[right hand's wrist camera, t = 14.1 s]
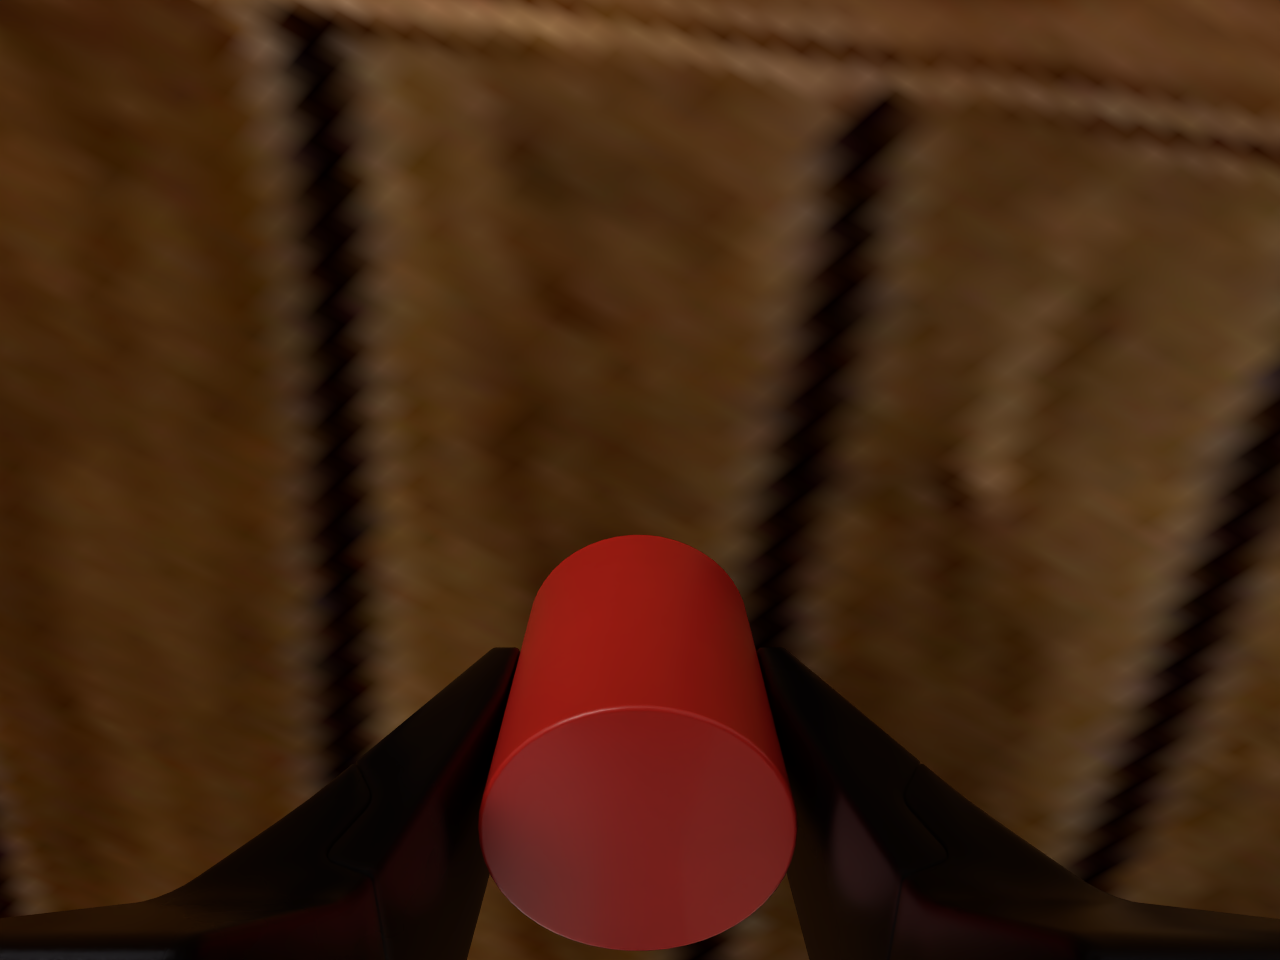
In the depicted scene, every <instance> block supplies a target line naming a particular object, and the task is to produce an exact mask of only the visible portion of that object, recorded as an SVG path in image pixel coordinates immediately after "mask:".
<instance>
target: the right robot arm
mask: <svg viewBox="0 0 1280 960" xmlns="http://www.w3.org/2000/svg"><path fill="white" fill-rule="evenodd" d="M519 656H520V651H519V649H518V648H493V649H491V650H490V651H489V652H488V653H486V654H485V655H484V656H483V657H482V658H480V659H479V660H478V661H477V662H476V663H474V664H473V665H472V666H471V667H470V668H468V669H467V670H466V671H465V672H463V673H462V674H461V675H460V676H459V677H457V678H456V679H455V680H454V681H453V682H451V683H450V684H449V685H448V686H447V687H445V688H444V689H443V690H442V691H441V692H439V693H438V694H437V695H436V696H434V697H433V698H432V699H431V700H430V701H428V702H427V703H426V704H425V705H424V706H422V707H421V708H420V709H419V710H418V711H416V712H415V713H414V714H413V715H412V716H410V717H409V718H408V719H407V720H406V721H404V722H403V723H402V724H401V725H399V726H398V727H397V728H396V729H395V730H393V731H392V732H391V733H390V734H389V735H387V736H386V737H385V738H384V739H383V740H381V741H380V742H379V743H378V744H377V745H375V746H374V747H373V748H372V749H371V750H369V751H368V752H367V753H366V754H364V755H363V756H362V757H361V758H360V759H358V760H357V762H356V764H352V765H351V766H350V767H349V768H347V769H346V770H345V771H344V772H342V773H341V774H340V775H339V776H338V777H336V778H335V779H334V780H333V781H331V782H330V783H329V784H328V785H326V786H325V787H324V788H323V789H321V790H320V791H319V792H317V793H316V794H315V795H314V796H312V797H311V798H310V799H309V800H307V801H306V802H304V803H303V804H302V805H300V806H299V807H297V808H296V809H295V810H293V811H292V812H290V813H289V814H288V815H286V816H285V817H284V818H282V819H281V820H279V821H278V822H277V823H275V824H274V825H272V826H271V827H269V828H268V829H266V830H265V831H263V832H262V833H261V834H259V835H258V836H256V837H255V838H253V839H252V840H250V841H249V842H248V843H246V844H245V845H243V846H242V847H240V848H239V849H237V850H236V851H234V852H233V853H232V854H230V855H229V856H227V857H226V858H224V859H223V860H221V861H220V862H219V863H217V864H216V865H214V866H213V867H211V868H210V869H208V870H207V871H205V872H204V873H203V874H201V875H200V876H198V877H197V878H195V879H193V880H192V881H190V882H189V883H187V884H186V885H184V886H182V887H180V888H178V889H176V890H174V891H172V892H170V893H167V894H165V895H162V896H160V897H157V898H154V899H150V900H147V901H143V902H137V903H129V904H121V905H112V906H103V907H95V908H86V909H78V910H69V911H60V912H52V913H43V914H34V915H26V916H17V917H8V918H0V960H467V957H468V953H469V949H470V946H471V942H472V938H473V934H474V931H475V927H476V923H477V919H478V916H479V912H480V908H481V904H482V901H483V897H484V893H485V889H486V886H487V882H488V878H489V874H490V873H489V870H488V868H487V866H486V864H485V862H484V858H483V854H482V851H481V847H480V843H479V833H478V820H479V810H480V806H481V802H482V797H483V794H484V790H485V786H486V782H487V778H488V774H489V771H490V767H491V763H492V759H493V755H494V751H495V748H496V744H497V740H498V736H499V732H500V729H501V725H502V721H503V717H504V713H505V709H506V706H507V702H508V698H509V694H510V690H511V686H512V683H513V679H514V675H515V671H516V667H517V664H518V660H519ZM757 657H758V661H759V665H760V669H761V673H762V677H763V681H764V684H765V688H766V692H767V696H768V700H769V704H770V708H771V712H772V716H773V720H774V724H775V728H776V732H777V736H778V740H779V744H780V748H781V752H782V755H783V759H784V763H785V767H786V771H787V775H788V779H789V783H790V787H791V791H792V795H793V799H794V803H795V807H796V811H797V824H798V830H797V841H796V846H795V850H794V853H793V857H792V861H791V863H790V866H789V868H788V870H787V876H788V880H789V883H790V887H791V891H792V895H793V898H794V902H795V906H796V910H797V914H798V917H799V921H800V925H801V929H802V933H803V936H804V940H805V944H806V948H807V952H808V955H809V959H810V960H1280V919H1274V918H1265V917H1256V916H1248V915H1239V914H1231V913H1222V912H1214V911H1205V910H1197V909H1188V908H1179V907H1171V906H1162V905H1154V904H1145V903H1137V902H1132V901H1128V900H1124V899H1121V898H1117V897H1115V896H1113V895H1110V894H1108V893H1105V892H1103V891H1101V890H1099V889H1097V888H1095V887H1093V886H1091V885H1089V884H1088V883H1086V882H1085V881H1083V880H1082V879H1080V878H1078V877H1077V876H1075V875H1074V874H1072V873H1071V872H1070V871H1068V870H1067V869H1065V868H1064V867H1062V866H1061V865H1059V864H1058V863H1057V862H1055V861H1054V860H1052V859H1051V858H1049V857H1048V856H1046V855H1045V854H1044V853H1042V852H1041V851H1039V850H1038V849H1036V848H1035V847H1034V846H1032V845H1031V844H1029V843H1028V842H1026V841H1025V840H1023V839H1022V838H1021V837H1019V836H1018V835H1016V834H1015V833H1013V832H1012V831H1010V830H1009V829H1008V828H1006V827H1005V826H1003V825H1002V824H1000V823H999V822H998V821H996V820H995V819H993V818H992V817H991V816H989V815H988V814H986V813H985V812H984V811H982V810H981V809H980V808H978V807H977V806H975V805H974V804H973V803H971V802H970V801H969V800H967V799H966V798H965V797H963V796H962V795H961V794H960V793H958V792H957V791H956V790H955V789H953V788H952V787H951V786H949V785H948V784H947V783H946V782H944V781H943V780H942V779H941V778H939V777H938V776H937V775H936V774H935V773H933V772H932V771H931V770H930V769H929V768H927V767H926V766H925V765H924V764H920V762H919V760H918V759H916V758H915V757H914V756H913V755H912V754H910V753H909V752H908V751H907V750H906V749H904V748H903V747H902V746H901V745H900V744H898V743H897V742H896V741H895V740H894V739H892V738H891V737H890V736H889V735H888V734H886V733H885V732H884V731H883V730H882V729H880V728H879V727H878V726H877V725H876V724H874V723H873V722H872V721H871V720H870V719H869V718H867V717H866V716H865V715H864V714H863V713H861V712H860V711H859V710H858V709H857V708H855V707H854V706H853V705H852V704H851V703H849V702H848V701H847V700H846V699H845V698H843V697H842V696H841V695H840V694H839V693H837V692H836V691H835V690H834V689H833V688H831V687H830V686H829V685H828V684H827V683H825V682H824V681H823V680H822V679H821V678H819V677H818V676H817V675H816V674H815V673H813V672H812V671H811V670H810V669H809V668H807V667H806V666H805V665H804V664H803V663H801V662H800V661H799V660H798V659H797V658H795V657H794V656H793V655H792V654H791V653H789V652H788V651H787V650H786V649H784V648H760V649H758V651H757Z"/></svg>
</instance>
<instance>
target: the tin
mask: <svg viewBox="0 0 1280 960" xmlns="http://www.w3.org/2000/svg"><path fill="white" fill-rule="evenodd" d="M797 830H798V824H797V811H796V807H795V803H794V799H793V795H792V791H791V787H790V783H789V779H788V775H787V771H786V767H785V763H784V759H783V755H782V752H781V748H780V744H779V740H778V736H777V732H776V728H775V724H774V720H773V716H772V712H771V708H770V704H769V700H768V696H767V692H766V688H765V684H764V681H763V677H762V673H761V669H760V665H759V661H758V657H757V653H756V649H755V645H754V641H753V637H752V633H751V629H750V625H749V621H748V617H747V614H746V610H745V606H744V602H743V600H742V598H741V595H740V593H739V591H738V589H737V587H736V586H735V584H734V582H733V581H732V579H731V578H730V577H729V576H728V575H727V573H726V572H725V571H724V570H723V569H722V568H721V567H720V566H719V565H718V564H717V563H716V562H715V561H714V560H712V559H711V558H709V557H708V556H706V555H705V554H704V553H702V552H700V551H698V550H697V549H695V548H693V547H691V546H689V545H686V544H684V543H681V542H678V541H676V540H672V539H668V538H664V537H658V536H650V535H627V536H619V537H613V538H609V539H605V540H601V541H599V542H596V543H593V544H591V545H588V546H586V547H584V548H582V549H580V550H579V551H577V552H575V553H573V554H572V555H571V556H569V557H568V558H566V559H565V560H564V561H562V562H561V563H560V564H559V565H558V566H557V567H556V568H555V569H554V570H553V571H552V572H551V573H550V575H549V576H548V577H547V578H546V580H545V581H544V583H543V584H542V586H541V588H540V589H539V591H538V593H537V596H536V598H535V600H534V603H533V606H532V610H531V614H530V618H529V621H528V625H527V629H526V633H525V637H524V641H523V644H522V648H521V652H520V656H519V660H518V664H517V667H516V671H515V675H514V679H513V683H512V686H511V690H510V694H509V698H508V702H507V706H506V709H505V713H504V717H503V721H502V725H501V729H500V732H499V736H498V740H497V744H496V748H495V751H494V755H493V759H492V763H491V767H490V771H489V774H488V778H487V782H486V786H485V790H484V794H483V797H482V802H481V806H480V810H479V820H478V833H479V843H480V847H481V851H482V854H483V858H484V862H485V864H486V866H487V868H488V870H489V873H490V875H491V877H492V878H493V880H494V881H495V883H496V884H497V886H498V887H499V889H500V890H501V892H502V893H503V894H504V895H505V896H506V897H507V898H508V900H509V901H510V902H511V903H512V904H513V905H514V906H515V907H517V908H518V909H519V910H520V911H521V912H522V913H523V914H525V915H526V916H527V917H529V918H530V919H532V920H533V921H535V922H536V923H538V924H539V925H541V926H543V927H545V928H547V929H548V930H550V931H552V932H554V933H556V934H559V935H561V936H564V937H566V938H569V939H571V940H574V941H577V942H581V943H584V944H588V945H591V946H597V947H602V948H607V949H616V950H627V951H649V950H660V949H669V948H674V947H679V946H685V945H688V944H692V943H695V942H699V941H702V940H705V939H708V938H710V937H712V936H715V935H717V934H720V933H722V932H724V931H726V930H728V929H729V928H731V927H733V926H735V925H737V924H738V923H740V922H741V921H743V920H744V919H746V918H747V917H749V916H750V915H751V914H753V913H754V912H755V911H756V910H757V909H758V908H759V907H761V906H762V905H763V904H764V903H765V902H766V901H767V900H768V898H769V897H770V896H771V895H772V894H773V893H774V892H775V890H776V889H777V887H778V886H779V884H780V883H781V881H782V880H783V878H784V877H785V874H786V872H787V870H788V868H789V866H790V863H791V861H792V857H793V853H794V850H795V846H796V841H797Z"/></svg>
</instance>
